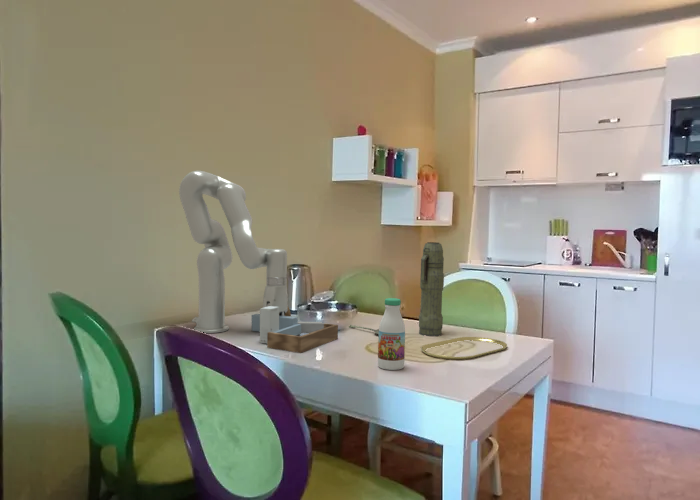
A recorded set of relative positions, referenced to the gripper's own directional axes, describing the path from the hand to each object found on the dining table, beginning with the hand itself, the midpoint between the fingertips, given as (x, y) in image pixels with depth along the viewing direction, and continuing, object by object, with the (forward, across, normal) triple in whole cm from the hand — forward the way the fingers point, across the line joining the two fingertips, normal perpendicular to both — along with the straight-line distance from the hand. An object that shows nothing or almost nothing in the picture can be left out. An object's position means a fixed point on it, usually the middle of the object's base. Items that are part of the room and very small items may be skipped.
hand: (276, 330), depth 195 cm
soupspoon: (+2, -21, +29) cm, 36 cm away
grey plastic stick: (+1, -8, +11) cm, 14 cm away
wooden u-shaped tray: (+1, +8, +17) cm, 19 cm away
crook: (+1, +8, 0) cm, 8 cm away
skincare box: (+1, +14, +7) cm, 15 cm away
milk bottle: (+1, +20, +55) cm, 58 cm away
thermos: (+1, -31, +50) cm, 59 cm away
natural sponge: (+1, -12, -7) cm, 14 cm away
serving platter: (+2, -13, +68) cm, 69 cm away
